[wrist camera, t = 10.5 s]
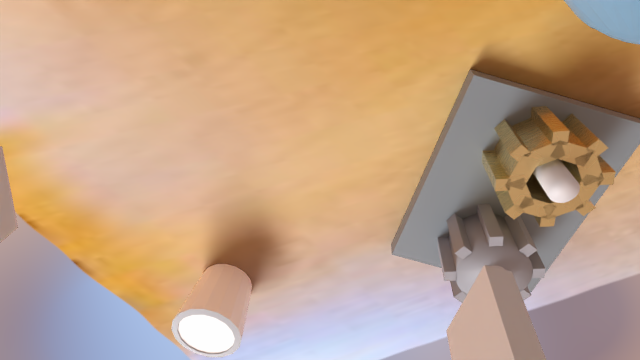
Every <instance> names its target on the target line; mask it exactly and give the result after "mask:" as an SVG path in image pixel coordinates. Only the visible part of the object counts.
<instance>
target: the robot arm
mask: <svg viewBox="0 0 640 360" xmlns="http://www.w3.org/2000/svg"><path fill="white" fill-rule="evenodd" d="M564 1H565V3H566V4H567V5H568V6H569V7H570V8H571V10H572V11H573V12H574V13H575V14H576V15H577V17H578V18H580V19H581V20H582V21H583V22H584V23H585V24H587V25H588V26H590V27H591V28H594V29H596V30H598V31H600V32H602V33H604V34H606V35H608V36H609V37H611V38H615V39H618V40H621V41H624V42H628V43H634V44H640V0H564ZM17 228H18V225H17V220H16V215H15V210H14V204H13V199H12V194H11V189H10V184H9V179H8V174H7V169H6V164H5V159H4V154H3V149H2V147H1V146H0V243H1V242H2V241H3V240H4V239H5V238H6V237H8V236H9V235H10V234H11V233H12V232H13V231H15V230H16V229H17ZM447 336H448V342H449V347H450V353H451V358H452V360H546V358H545V355H544V353H543V350H542V348H541V345H540V342H539V340H538V337H537V335H536V332H535V330H534V327H533V324H532V322H531V319H530V317H529V314H528V312H527V309H526V306H525V304H524V301H523V299H522V296H521V294H520V291H519V289H518V286H517V283H516V281H515V278H514V276H513V273H512V271H508V270H504V269H500V268H496V267H492V266H488V265H484V266H483V268H482V270H481V271H480V273H479V275H478V277H477V278H476V280H475V282H474V284H473V285H472V287H471V289H470V291H469V292H468V294H467V296H466V298H465V299H464V301H463V303H462V305H461V306H460V308H459V310H458V312H457V313H456V315H455V317H454V319H453V320H452V322H451V324H450V326H449V327H448V329H447Z"/></svg>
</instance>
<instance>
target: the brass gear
mask: <svg viewBox="0 0 640 360" xmlns="http://www.w3.org/2000/svg"><path fill="white" fill-rule="evenodd" d="M494 129H495V131H496V132H497V134H498V136H499V138H500V139H499V141H498V143H497V145H496V147H495V149H494V150H490V151H482V164H483V166H484V168H485V170H486V172H487V175H488V177H489V179H490V181H491V184H492V186H493V188H494V190H495V192H496V194H497V197H498V199H499V201H500V203H501V205H502V208H503V210H504V212H505V213H506V214H507V215H509V216H510V217H511V218H512V219H516V218H517V217H518V216H519V215H521V214H522V213H527V214H530V215H534V217H535V219H536V221H537V223H538V224H539V226H540V227H549V226H554V224H555V218H556V217H557V216H560V215H562V214H565V213H568V212H571V211H574V210H577V211H578V212H579V213H580V214H581V215H583V216H585V215H586V214H587V213H589V212H590V211H592V210H593V209H595V208H596V207H595V206H594V205H593V204H592V202H591V201H590V200H589V199H590V198H591V196H592V195H593V194H594V192H595V191H596V189H597V188H598V187H599V185H612V184H613V182H614V178H615V173H616V172H615V171H614V170H613V169H612V168H611V167H610V166H609V164H608V163H607V162H606V161H605V160H604V159H603V158H602V157H601V156H600V154H601V153H603V152H604V151H605V150H606V149H608V147H607V146H606V145H605V144H604V143H603V142H602V141H601V140H600V139H599V138H598V137H597V136H596V135H594V134H593V133H592V132H591V131H590V130H589V129H588V128H587V127H586V126H585V125H584V124H583V123H582V122H581V121H580V120H579V119H577V118H576V117H575V116H574V115H573V114H571V115H570V116H568V117H567V118H566V119H565V120H564V121H562V122H561V121H560V120H559V119H558V118H557V117H556V116H555V115H554V114H553V113H552V112H551V111H550V110H549V108H548V107H547V106H539V107H532V110H531V118H529V119H527V120H524V121H522V122H520V123H517V124H515V125H513V126H512V125H511V124H509V123H508V122H507V121H506V120H505V119H504V120H503V121H502V122H501V123H500V124H498V125H497V126H496V127H495V128H494ZM556 159H560V160H561V162H562V163H563V164H564V165H565V167H566V168H567V169H568V170H569V172H570V173H571V174H572V175H573V177H574V178H575V179H576V180H577V182H578V183H579V185H580V190H579V193H578V194H577V196H576V197H575V198H573V199H572V200H570V201H568V202H564V203H557V202H554V201H552V200H551V199H550V198H549V197H548V195H547V194H546V192H545V191H544V189H543V188H542V186H541V185H540V183H539V181H538V180H537V178H536V177H535V175H534V174H533V171H534V170H535V168H536V167H538V166H540V165H543V164H545V163H548V162H550V161H553V160H556Z"/></svg>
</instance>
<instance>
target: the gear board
mask: <svg viewBox="0 0 640 360" xmlns="http://www.w3.org/2000/svg"><path fill="white" fill-rule="evenodd" d="M539 106H547V107H548V108H549V110H550V111H551V112H552V113H553V114H554V115H555V116H556V117H557V118H558V119H559V120H560V121H561V122H562V121H564V120H565V119H566V118H567V117H568V116H570V115H571V114H573V115H574V116H575V117H576V118H577V119H579V120H580V121H581V122H582V123H583V124H584V125H585V126H586V127H587V128H588V129H589V130H590V131H591V132H592V133H593V134H594V135H596V136H597V137H598V138H599V139H600V140H601V141H602V142H603V143H604V144H605V145H606V146H607V147H608V149H606V150H605V151H604V152H603V153H601V154H600V156H601V157H602V158H603V159H604V160H605V161H606V162H607V163H608V164H609V166H610V167H611V168H612V169H613V170H614V171H615V172H616V173H615V177H616V175H617V174H618V173H619V171H620V170H621V169H622V167H623V166H624V165H625V163H626V162H627V160H628V159H629V158H630V156H631V155H632V154H633V152H634V151H635V149H636V148H637V147H638V145H639V144H640V118H636V117H633V116H629V115H626V114H622V113H619V112H615V111H612V110H609V109H605V108H602V107H598V106H595V105H591V104H588V103H585V102H581V101H578V100H574V99H571V98H567V97H564V96H560V95H557V94H554V93H550V92H547V91H543V90H540V89H536V88H533V87H530V86H526V85H523V84H519V83H516V82H512V81H509V80H505V79H502V78H499V77H495V76H492V75H488V74H485V73H481V72H478V71H475V70H471V69H470V70H469V73H468V75H467V77H466V79H465V82H464V84H463V86H462V88H461V90H460V93H459V95H458V97H457V99H456V102H455V104H454V106H453V108H452V110H451V113H450V115H449V117H448V119H447V122H446V124H445V126H444V128H443V131H442V133H441V135H440V137H439V139H438V142H437V144H436V146H435V148H434V151H433V153H432V155H431V157H430V159H429V162H428V164H427V166H426V168H425V171H424V173H423V175H422V177H421V180H420V182H419V184H418V186H417V188H416V191H415V193H414V195H413V197H412V200H411V202H410V204H409V206H408V208H407V211H406V213H405V215H404V217H403V220H402V222H401V224H400V226H399V229H398V231H397V233H396V235H395V237H394V240H393V242H392V244H391V247H392V255H396V256H399V257H403V258H407V259H410V260H414V261H418V262H421V263H425V264H429V265H433V266H436V267H440V268H442V272H443V277H444V281H450V282H451V287H452V291H453V296H454V298H456V299H457V300H459V301H460V302H462V303H463V301H464V299H465V298H466V296H467V294H468V292H469V291H470V289H471V287H472V285H473V284H474V282H475V280H476V278H477V277H478V275H479V273H480V271H481V270H482V268H483V266H484V265H488V266H492V267H496V268H500V269H504V270H508V271H512V273H513V276H514V278H515V281H516V283H517V286H518V289H519V291H520V294H521V296H522V299H523V300H525V299H526V298H528V297H529V296H531V293H530V292H532V290H533V289H534V288H535V286H536V285H537V284H538V282H539V281H540V280H541V278H544V275H545V273H546V271H547V270H548V269H549V267H550V266H551V264H552V263H553V262H554V260H555V259H556V258H557V256H558V255H559V253H560V252H561V251H562V249H563V248H564V247H565V245H566V244H567V243H568V241H569V240H570V238H571V237H572V236H573V234H574V233H575V232H576V230H577V229H578V227H579V226H580V225H581V223H582V222H583V221H584V219H585V218H586V217H587V215H588V214H589V213H587V214H586V215H585V216H583V215H581V214H580V213H579V212H578V211H577V210H574V211H571V212H568V213H565V214H562V215H560V216H557V217H556V218H555V224H554V226H549V227H540V226H539V224H538V223H537V221H536V219H535V217H534V215H530V214H527V213H522V214H521V215H519V216H518V217H517V218H516V219H512V218H511V217H510V216H509V215H507V214H506V213H505V212H504V210H503V208H502V205H501V203H500V201H499V199H498V197H497V194H496V192H495V190H494V188H493V186H492V184H491V181H490V179H489V177H488V175H487V172H486V170H485V168H484V166H483V164H482V151H490V150H494V149H495V147H496V145H497V143H498V141H499V139H500V138H499V136H498V134H497V132H496V131H495V129H494V128H495V127H496V126H497V125H498V124H500V123H501V122H502V121H503V120H504V119H505V120H506V121H507V122H508V123H509V124H511V125H512V126H513V125H515V124H517V123H520V122H522V121H524V120H527V119H529V118H531V110H532V107H539ZM533 174H534V175H535V177H536V178H537V180H538V181H539V183H540V185H541V186H542V188H543V189H544V191H545V192H546V194H547V195H548V197H549V198H550V199H551V200H552V201H554V202H557V203H564V202H568V201H570V200H572V199H573V198H575V197H576V196H577V194H578V193H579V190H580V185H579V183H578V182H577V180H576V179H575V178H574V177H573V175H572V174H571V173H570V172H569V170H568V169H567V168H566V167H565V165H564V164H563V163H562V162H561V160H560V159H556V160H553V161H550V162H548V163H545V164H543V165H540V166H538V167H536V168H535V170H534V171H533ZM608 186H609V185H599V187H598V188H597V189H596V191H595V192H594V194H593V195H592V196H591V198H590V199H589V200H590V201H591V202H592V204H593V205H594V206H595V204H596V203H597V201H598V200H599V199H600V197H601V196H602V195H603V193H604V192H605V191H606V189H607V188H608Z"/></svg>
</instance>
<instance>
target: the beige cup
mask: <svg viewBox="0 0 640 360" xmlns="http://www.w3.org/2000/svg"><path fill="white" fill-rule="evenodd" d="M251 290H252V284H251V280H250V278H249V277H248V276H247V274H246V273H245V272H244V271H242V270H241V269H239V268H237V267H236V266H232V265H228V264H215V265H213V266H210V267H208V268H207V269H206V270H205V271H204V273H203V274H202V276H201V277H200V279H199V280H198V282H197V283H196V285H195V286H194V288H193V290H192V291H191V293H190V294H189V296H188V297H187V299H186V301H185V302H184V304H183V305H182V307H181V308H180V310H179V311H178V313H177V315H176V316H175V318H174V319H173V322H172V332H173V334H174V336H175V338H176V340H177V341H178V342H179V343H180V344H181V345H182V346H183V347H184V348H186V349H188V350H190V351H192V352H194V353H195V354H199V355H203V356H206V357H224V356H227V355H230V354H233V353H234V352H235V351H236V350H237V349H238V348H239V347H240V343H241V339H242V334H243V329H244V324H245V319H246V314H247V310H248V305H249V300H250V295H251Z"/></svg>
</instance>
